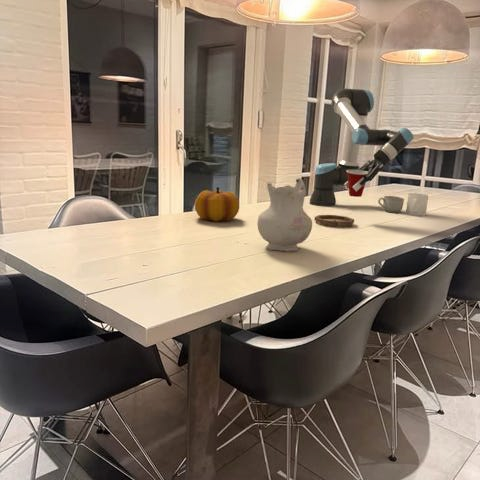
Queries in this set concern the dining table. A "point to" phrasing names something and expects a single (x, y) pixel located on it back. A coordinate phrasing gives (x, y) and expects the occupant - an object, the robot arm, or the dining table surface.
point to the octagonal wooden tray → (334, 221)
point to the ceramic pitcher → (285, 218)
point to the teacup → (392, 203)
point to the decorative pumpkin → (217, 205)
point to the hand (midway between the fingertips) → (350, 187)
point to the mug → (417, 204)
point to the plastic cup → (355, 181)
